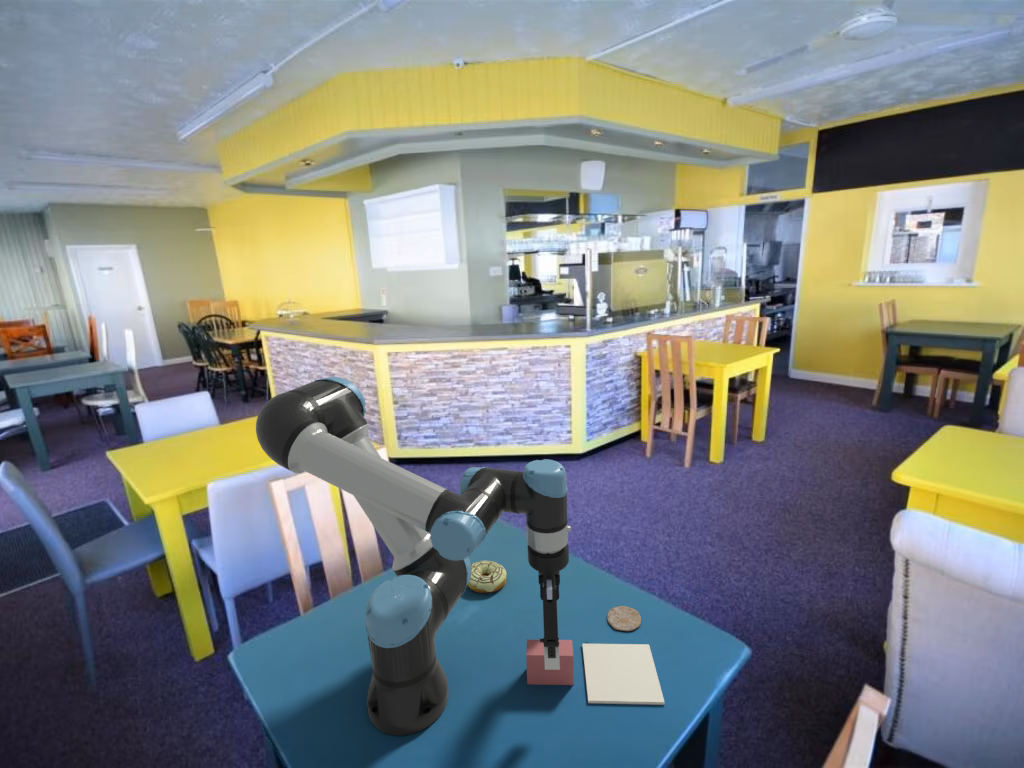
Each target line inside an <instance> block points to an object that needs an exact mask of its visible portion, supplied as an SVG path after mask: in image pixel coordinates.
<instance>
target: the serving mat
mask: <svg viewBox="0 0 1024 768" xmlns="http://www.w3.org/2000/svg"><path fill="white" fill-rule="evenodd" d="M581 645H582V656H583V662H584V663H583V664H584V674H585V685H586V694H587V695H586V697H587V703H588V704H607V705H610V704H613V705H615V704H616V705H657V706H658V705H659V706H660V705H661V706H665V698H664V695H663V692H662V687H661V683H660V680H659V677H658V676H659V675H658V673H657V669H656V665H655V661H654V658H653V654H652V650H651V647H650V644H648V643H647V644H643V643H642V644H641V643H640V644H638V643H635V644H633V643H582V644H581Z"/></svg>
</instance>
